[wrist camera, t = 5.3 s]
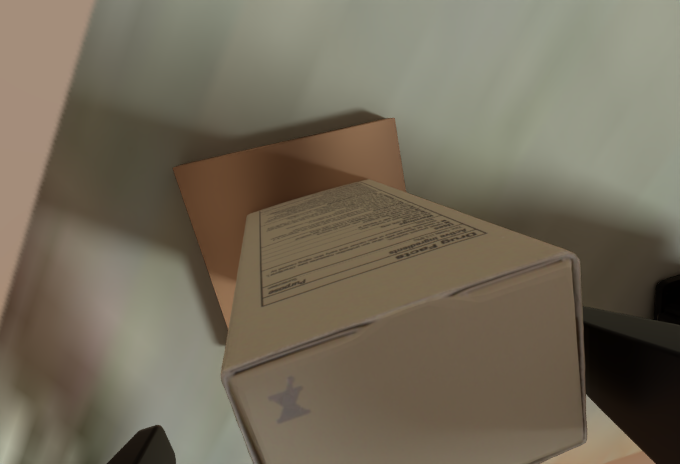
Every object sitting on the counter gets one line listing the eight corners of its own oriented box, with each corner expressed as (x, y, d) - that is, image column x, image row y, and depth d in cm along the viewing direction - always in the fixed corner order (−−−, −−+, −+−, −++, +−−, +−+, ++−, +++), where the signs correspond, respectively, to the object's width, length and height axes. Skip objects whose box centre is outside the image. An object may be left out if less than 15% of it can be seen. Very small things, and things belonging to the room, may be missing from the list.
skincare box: (272, 296, 18) (278, 583, 7) (244, 211, 17) (189, 380, 5) (396, 257, 19) (602, 455, 7) (378, 174, 18) (590, 249, 6)
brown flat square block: (381, 118, 19) (394, 117, 17) (410, 292, 22) (424, 307, 20) (182, 163, 18) (172, 167, 16) (241, 341, 21) (239, 362, 19)
